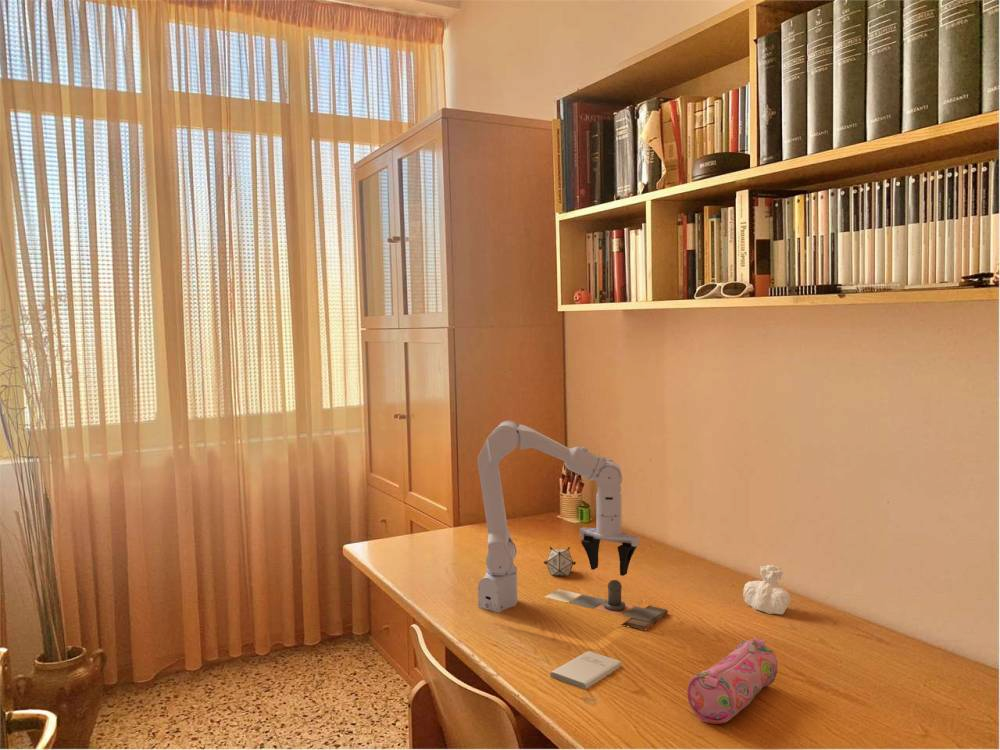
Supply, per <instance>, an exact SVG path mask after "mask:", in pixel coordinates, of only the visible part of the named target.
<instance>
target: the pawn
mask: <svg viewBox="0 0 1000 750" xmlns="http://www.w3.org/2000/svg"><path fill="white" fill-rule="evenodd" d="M622 589H623V587H622V583H621V581H619V580H617V579H612V580H610V581H609V582H608V584H607V598H608V599H607V601H605V602H604V603H603V604H604V608H605V609H607V610H610V611H621V610H624V609H625V604H626V603H625V602H623V601H622Z"/></svg>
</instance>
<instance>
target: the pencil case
mask: <svg viewBox="0 0 1000 750" xmlns="http://www.w3.org/2000/svg"><path fill="white" fill-rule="evenodd" d="M766 642H767V641H766V640H764V639H760V638H757V637H754V638H752V639H748V640H744V641H742V642H740V643H739V644H738V645H737V646H736V647H735V648H734V650H733V651H732V652H730V653H729V654H728V655H726V656H725V657H724V658H722V659H721V660H720V661H717V663H715V664H713V665H712V666H710V667H709V668H708V669H704V670H702V671H701V672H700V673H697V674H695V675H693V676H692V677H691V678H690V680H689V681H688V686H687V691H686V695H687V700H688V704H689V706H690V708H691V710H692V711H693V713H694V714H695V715H696V716H697V717H698V719H699V720H701V721H702V722H704V723H708V724H715V725H717V724H718V725H719V724H725V723H727V722H729V721H730V720H732V719H733V718H735V717H736V716H737V714H739V713H740V712H741V711H742V709H745V708H746V707H748V705H749V704H751V702H752V701H753V700H754V698H755V697H756V695H758V693H759V692H760V691H761V690H762V689H763V688H765V687H767V686H768V687H769V686H771V685H773V683H774V682H775V680H776V677H777V673H778V666H779V664H778V659H777V656H776V654H775V653H774V651H773V650H772V649H770V648H769V646H767V645H766V644H765V643H766Z"/></svg>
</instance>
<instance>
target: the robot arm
mask: <svg viewBox="0 0 1000 750" xmlns="http://www.w3.org/2000/svg"><path fill="white" fill-rule="evenodd" d="M518 445H519V450H527V449H531V448H533V449H535V450H538V451H540V452H542V453H544V454H547V455H549V456H552V457H554V458H556V459H559V460H561V461H563V462H564V465H565V467H566V469H567V470H568V471H571V472H573V473H576V474H577V475H579V476H581V477H584V479H587V480H590V481H596V484H597V492H596V495H595V496H596V498H595V500H596V503H595V504H596V515H595V517H596V519H595V520H596V522H595V523H596V528H595V527H585V526H583V527H581V528H579V537H580V538H583V539H582V540H580V542H581V545H582V547H583V549H584V551H585V553H586V556H587V558H588V562H589V564H590V569H591V570H593V571H595V570H596V569H599V568H598V567H599V551H600V543H601V541H605V542H606V541H607V542H611V543H618V544H620V545H618V546H617V547H616V548H617V553H618V557H619V575H620V576H622V577H624V576H625V575H627V574H628V569H629V565H630V562H631V560H632V557H633V555H634V552H635V551H636V549H637V547H638V546H639V545H640V536H639V535H633V534H630V533H627V532H624V531H622V494H621V491H622V486H621V485H622V482H623V477H622V476H623V475H622V470H621V468H620V466H619V465H618V464H617V463H616V462H615V461H613V459H607V457H605V456H598V455H596V454H594V453H593V452H591V451H588V449H589V448H588V447H586V446H582V447H580V446H575V447H567V446H566V445H564V444H562V443H560V442H558V441H557V440H554V439H552V438H550V437H548V436H547V435H544V434H543V433H541V432H539V431H537V430H536V429H534V428H531V427H529V426H527V425H524V424H518V423H517V422H515V421H513V420H509V419H507V420H504V421H502V422H500V423H499V424H498V425H497V426H496V427H495V428H494V429H493V430H492V432H491V433H490V434H489V435H488V436H487V438H486V440H485V442H484V445H483V447H482V448H481V450H480V452H479V454H478V457H477V467H478V475H479V480H480V488H481V494H482V500H483V501H482V502H483V508H484V516H485V521H486V528H487V551H488V552H487V555H486V558H485V564H486V573H485V575H484V576H483V577H482V578H481V579H480V580H479V582H478V585H477V597H478V599H477V601H478V602H477V604H478V607H477V608H480V609H483V610H486V611H491V612H495V613H501V612H503V611H504V610H507V609H509V608H512V607H515V606H517V605H518V569H517V566H516V565H515V563H514V560H515V558H516V556H517V552H518V551H517V547H516V544H515V543H514V541H513V540H512V538H511V532H510V529H509V527H508V526H509V525H508V520H507V514H506V506H505V499H504V492H503V485H502V479H501V472H500V465H499V464H500V462H501V461H502V460H503V458H504V457H505V456H506V455H508V454H510V453H511V452H513V451H514V450H515V449H516V448H517V447H518Z"/></svg>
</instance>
